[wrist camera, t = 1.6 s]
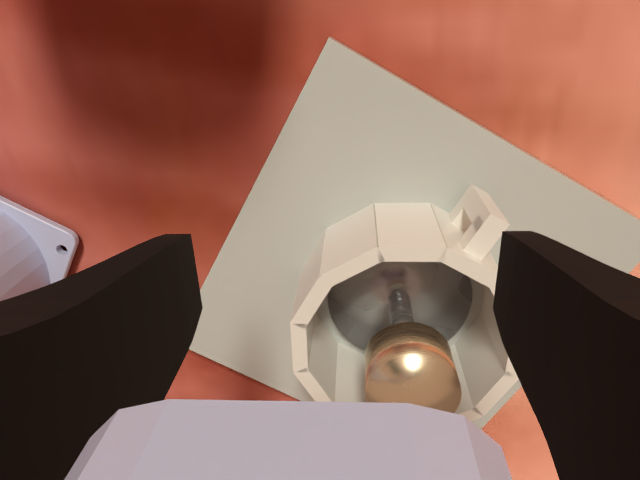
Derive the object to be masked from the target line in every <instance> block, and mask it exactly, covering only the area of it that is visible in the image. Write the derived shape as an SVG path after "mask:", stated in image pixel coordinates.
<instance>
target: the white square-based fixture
mask: <svg viewBox="0 0 640 480" xmlns="http://www.w3.org/2000/svg"><path fill="white" fill-rule="evenodd" d="M502 231H533V232H536V233H539V234H542V235H544V236H547V237H549V238H551V239H553V240H556V241H558V242H560V243H562V244H564V245H566V246H568V247H570V248H573V249H575V250H577V251H579V252H581V253H583V254H585V255H587V256H589V257H591V258H594V259H596V260H598V261H600V262H602V263H604V264H607V265H609V266H611V267H613V268H616V269H618V270H620V271H623V272H625V273H628V274H629V273H630V272H631V271H632V269H633V268H634V267H635V266H636V265H637V264H638V263H639V262H640V219H639V218H638V217H636V216H634V215H633V214H631V213H629V212H628V211H626V210H624V209H622V208H621V207H619V206H617V205H616V204H614V203H612V202H611V201H609V200H607V199H605V198H604V197H602V196H600V195H599V194H597V193H595V192H594V191H592V190H590V189H589V188H587V187H585V186H583V185H582V184H580V183H578V182H577V181H575V180H573V179H572V178H570V177H568V176H566V175H565V174H563V173H561V172H560V171H558V170H556V169H555V168H553V167H551V166H549V165H548V164H546V163H544V162H543V161H541V160H539V159H538V158H536V157H534V156H533V155H531V154H529V153H527V152H526V151H524V150H522V149H521V148H519V147H517V146H516V145H514V144H512V143H510V142H509V141H507V140H505V139H504V138H502V137H500V136H499V135H497V134H495V133H493V132H492V131H490V130H488V129H487V128H485V127H483V126H482V125H480V124H478V123H476V122H475V121H473V120H471V119H470V118H468V117H466V116H465V115H463V114H461V113H460V112H458V111H456V110H454V109H453V108H451V107H449V106H448V105H446V104H444V103H443V102H441V101H439V100H437V99H436V98H434V97H432V96H431V95H429V94H427V93H426V92H424V91H422V90H420V89H419V88H417V87H415V86H414V85H412V84H410V83H409V82H407V81H405V80H404V79H402V78H400V77H398V76H397V75H395V74H393V73H392V72H390V71H388V70H387V69H385V68H383V67H381V66H380V65H378V64H376V63H375V62H373V61H371V60H370V59H368V58H366V57H364V56H363V55H361V54H359V53H358V52H356V51H354V50H353V49H351V48H349V47H348V46H346V45H344V44H342V43H341V42H339V41H337V40H336V39H334V38H332V37H331V36H330V37H329V39H328V41H327V42H326V44H325V46H324V48H323V50H322V52H321V54H320V56H319V58H318V60H317V62H316V64H315V66H314V68H313V70H312V72H311V74H310V76H309V78H308V80H307V82H306V84H305V86H304V88H303V90H302V92H301V94H300V95H299V97H298V99H297V101H296V103H295V105H294V107H293V109H292V111H291V113H290V115H289V117H288V119H287V121H286V123H285V125H284V127H283V129H282V131H281V133H280V135H279V137H278V139H277V141H276V143H275V145H274V147H273V148H272V150H271V152H270V154H269V156H268V158H267V160H266V162H265V164H264V166H263V168H262V170H261V172H260V174H259V176H258V178H257V180H256V182H255V184H254V186H253V188H252V190H251V192H250V194H249V196H248V198H247V200H246V201H245V203H244V205H243V207H242V209H241V211H240V213H239V215H238V217H237V219H236V221H235V223H234V225H233V227H232V229H231V231H230V233H229V235H228V237H227V239H226V241H225V243H224V245H223V247H222V249H221V251H220V253H219V254H218V256H217V258H216V260H215V262H214V264H213V266H212V268H211V270H210V272H209V274H208V276H207V278H206V280H205V282H204V284H203V286H202V288H201V290H200V295H201V301H202V307H203V308H202V312H201V315H200V319H199V322H198V326H197V329H196V332H195V335H194V338H193V341H192V343H191V345H190V347H189V350H192V351H194V352H196V353H198V354H200V355H203V356H205V357H207V358H209V359H211V360H213V361H216V362H218V363H220V364H222V365H224V366H226V367H229V368H231V369H233V370H235V371H237V372H239V373H242V374H244V375H246V376H248V377H250V378H252V379H255V380H257V381H259V382H261V383H263V384H265V385H268V386H270V387H272V388H274V389H276V390H279V391H281V392H283V393H285V394H287V395H289V396H292V397H294V398H296V399H298V400H300V401H313V402H366V395H365V351H364V350H362V349H360V348H359V347H357V346H355V345H354V344H352V343H351V342H350V341H348V340H347V339H346V338H345V337H344V336H343V335H342V334H341V332H340V331H339V330H338V329H337V327H336V326H335V324H334V322H333V320H332V318H331V315H330V312H329V308H328V300H327V298H328V292H329V291H330V289H331V288H332V286H334V285H336V284H338V283H340V282H342V281H344V280H346V279H348V278H350V277H352V276H354V275H356V274H358V273H360V272H362V271H364V270H366V269H368V268H370V267H372V266H374V265H376V264H378V263H380V262H442V263H444V264H446V265H448V266H449V267H451V268H453V269H455V270H457V271H459V272H461V273H463V274H464V275H466V276H468V277H469V278H470V281H471V286H472V303H471V308H470V311H469V314H468V317H467V318H466V320H465V322H464V324H463V325H462V327H461V328H460V330H459V331H458V332H457V333H456V334H455V335H454V336H453V337H452V338H451V339H450V340H448V341H447V342H448V344H449V346H450V349H451V353H452V356H453V360H454V364H455V367H456V371H457V375H458V378H459V382H460V385H461V391H462V395H461V401H460V404H459V406H458V408H457V410H456V411H455V414H460V415H464V416H465V417H466V418H468V419H469V420H470V421H471V422H472V423H474V424H475V425H476V426H477V427H478V428H480V429H481V428H482V427H483V426H484V425H485V424H486V423H487V422H488V421H489V420H490V419H491V418H492V417H493V416H494V415H495V414H496V413H497V412H498V411H499V410H500V408H501V407H502V406H503V405H504V404H505V403H506V402H507V401H508V400H509V399H510V398H511V397H512V396H513V395H514V394H515V393H516V392H517V391H518V390H519V388H520V387H521V386H522V385H521V383H520V381H519V379H518V377H517V374H516V372H515V370H514V368H513V366H512V363H511V361H510V359H509V357H508V355H507V352H506V350H505V348H504V346H503V343H502V340H501V336H500V333H499V330H498V326H497V323H496V319H495V315H494V311H493V302H494V294H495V286H496V278H497V270H498V262H499V254H500V246H501V238H502Z"/></svg>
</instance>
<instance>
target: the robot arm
mask: <svg viewBox="0 0 640 480" xmlns="http://www.w3.org/2000/svg"><path fill="white" fill-rule="evenodd" d="M78 244H79V238H78V235H77V234H76V233H75V232H74V231H72V230H71V229H69V228H66V227H64V226H62V225H60V224H58V223H56V222H54V221H52V220H50V219H48V218H46V217H44V216H42V215H39V214H37V213H35V212H33V211H31V210H29V209H27V208H25V207H23V206H21V205H19V204H17V203H14V202H12V201H10V200H8V199H6V198H4V197H2V196H0V480H512V477H511V474H510V471H509V468H508V465H507V462H506V459H505V456H504V453H503V450H502V447H501V446H500V445H499V444H498V443H497V442H495V441H494V440H493V439H492V438H490V437H489V436H488V435H487V434H486V433H484V432H483V431H482V430H481V429H480V428H478V427H477V426H476V425H475V424H474V423H472V422H471V421H470V420H469V419H468V418H466V417H465V416H464V415H460V414H455V413H451V412H446V411H442V410H437V409H433V408H428V407H424V406H419V405H415V404H410V403H376V402H313V401H250V400H187V399H167V400H164V398H165V396H166V394H167V392H168V390H169V388H170V386H171V384H172V382H173V380H174V378H175V376H176V374H177V372H178V370H179V368H180V366H181V364H182V362H183V360H184V358H185V356H186V354H187V352H188V350H189V347H190V345H191V343H192V341H193V338H194V335H195V332H196V329H197V326H198V322H199V319H200V315H201V312H202V308H203V307H202V301H201V295H200V289H199V282H198V276H197V270H196V264H195V258H194V251H193V245H192V239H191V234H165V235H161V236H158V237H155V238H152V239H150V240H148V241H145V242H143V243H141V244H139V245H136V246H134V247H132V248H130V249H128V250H126V251H124V252H122V253H120V254H117V255H115V256H113V257H111V258H109V259H107V260H105V261H103V262H101V263H98V264H96V265H94V266H92V267H89V268H87V269H85V270H82V271H80V272H78V273H76V274H73V275H71V276H69V277H67V274H68V272H69V269H70V266H71V263H72V260H73V258H74V255H75V252H76V249H77V247H78ZM61 245H63V246H65V247H66V249H67V251H64V250H63V249H62V248H61ZM493 311H494V315H495V319H496V323H497V326H498V330H499V333H500V336H501V340H502V343H503V346H504V348H505V350H506V352H507V355H508V357H509V359H510V361H511V363H512V366H513V368H514V370H515V372H516V374H517V377H518V379H519V381H520V383H521V385H522V387H523V389H524V392H525V394H526V396H527V398H528V400H529V402H530V404H531V407H532V409H533V411H534V413H535V415H536V417H537V419H538V422H539V424H540V426H541V429H542V431H543V433H544V436H545V438H546V441H547V443H548V446H549V449H550V452H551V455H552V458H553V461H554V464H555V467H556V470H557V473H558V476H559V479H560V480H640V278H637V277H635V276H632V275H630V274H628V273H625V272H623V271H620V270H618V269H616V268H613V267H611V266H609V265H607V264H604V263H602V262H600V261H598V260H596V259H594V258H591V257H589V256H587V255H585V254H583V253H581V252H579V251H577V250H575V249H573V248H570V247H568V246H566V245H564V244H562V243H560V242H558V241H556V240H553V239H551V238H549V237H547V236H544V235H542V234H539V233H536V232H533V231H502V238H501V246H500V254H499V262H498V270H497V278H496V286H495V294H494V302H493Z"/></svg>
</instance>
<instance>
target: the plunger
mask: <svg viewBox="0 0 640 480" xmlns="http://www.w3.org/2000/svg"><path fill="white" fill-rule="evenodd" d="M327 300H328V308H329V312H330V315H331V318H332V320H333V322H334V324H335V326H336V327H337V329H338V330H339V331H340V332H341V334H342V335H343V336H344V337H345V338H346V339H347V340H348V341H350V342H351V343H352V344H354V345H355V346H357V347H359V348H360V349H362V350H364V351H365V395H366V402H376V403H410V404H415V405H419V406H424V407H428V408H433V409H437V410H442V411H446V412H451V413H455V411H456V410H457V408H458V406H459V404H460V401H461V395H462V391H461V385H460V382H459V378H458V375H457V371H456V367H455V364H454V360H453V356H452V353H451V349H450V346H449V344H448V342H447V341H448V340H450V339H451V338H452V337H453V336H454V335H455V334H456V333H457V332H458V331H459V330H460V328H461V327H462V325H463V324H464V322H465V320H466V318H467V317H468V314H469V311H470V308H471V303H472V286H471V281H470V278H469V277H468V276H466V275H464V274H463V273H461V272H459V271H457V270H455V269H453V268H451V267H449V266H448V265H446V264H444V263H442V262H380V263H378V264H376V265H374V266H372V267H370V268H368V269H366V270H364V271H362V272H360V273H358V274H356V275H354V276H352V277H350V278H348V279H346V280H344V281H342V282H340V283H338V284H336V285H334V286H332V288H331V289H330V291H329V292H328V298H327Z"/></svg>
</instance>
